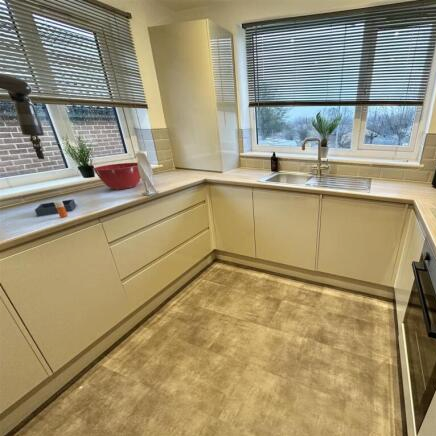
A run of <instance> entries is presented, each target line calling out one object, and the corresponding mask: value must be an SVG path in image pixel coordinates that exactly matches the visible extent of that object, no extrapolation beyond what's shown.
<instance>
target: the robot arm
mask: <svg viewBox="0 0 436 436" xmlns="http://www.w3.org/2000/svg"><path fill="white" fill-rule="evenodd" d="M0 90H4V91H7V94H8V96H9V98H10V100H11V102H12V103H13V107H14V110H15V113H16V115H17V121H18V125H19V127H20V130H21V134H22V135H23V136H29V142H30V144H31V147H32V148H33V150H34V151H35V155H36V157H37V159H39V160H44V159H45V155H44V151H43V148H44V147H43V144H42V139H41V138H39V137H41V136H44V135H45V132H44V130H43V129H44V128H43V126H42V122H41V120H40V117H39V115H38V112H37V108H36V107H35V105H34V104H33V103H32V100H31V98H30V96H29V95H31V94H32V91H33V89H32V87H31V85H30V84H29V83H28V82H27V81H25V80H23V79H21V78H18V77H15V76H12V75H7V74H3V73H0Z"/></svg>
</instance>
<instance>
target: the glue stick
mask: <svg viewBox="0 0 436 436" xmlns="http://www.w3.org/2000/svg"><path fill="white" fill-rule="evenodd" d="M62 201H63V200H57V201H53V202H54V204H55V206H56V208H57V211H58V213H57V214H58V215H59V218H60V219H65V218H68V217H69V215H68V212H66V210H65V207H64V205H63V202H62Z"/></svg>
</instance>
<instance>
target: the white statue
mask: <svg viewBox="0 0 436 436" xmlns="http://www.w3.org/2000/svg"><path fill="white" fill-rule="evenodd" d="M136 151H137V152H136ZM133 153H134V156H135V157H136V160H137V163H138V169H139V173H140V176H141V177H140V180H141V181H142V183H143V185H144V193H142V196H146V197H151V196H154V195H155V196H156V195H158V194H160V193H159V192H158V191H157V189H156V187H155V185H154V184H155V183H154V181H155V180H154V171H153V168H152V165H151V163H150V161H149V158H148V151H147V150H144V151H143V150H139V149H138V148H135V149H134V151H133Z"/></svg>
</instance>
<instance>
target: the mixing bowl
mask: <svg viewBox="0 0 436 436" xmlns="http://www.w3.org/2000/svg"><path fill="white" fill-rule="evenodd" d="M92 171H94V173H95V174H96V175H97V177H98V178H99V179H100V180H101V181H102V182H103V184H104V185H106V186H107V187H108V188H110V189H113V190H116V191H117V190H118V191H119V190H120V191H121V190H128V189H131V188H135V187H137V185H138V184H139V183H140V181H141V176H140V173H139V169H138V162H124V163H123V162H121V163H112V164H106V165H105V164H104V165H100V166H96V167H93V168H92Z"/></svg>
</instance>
